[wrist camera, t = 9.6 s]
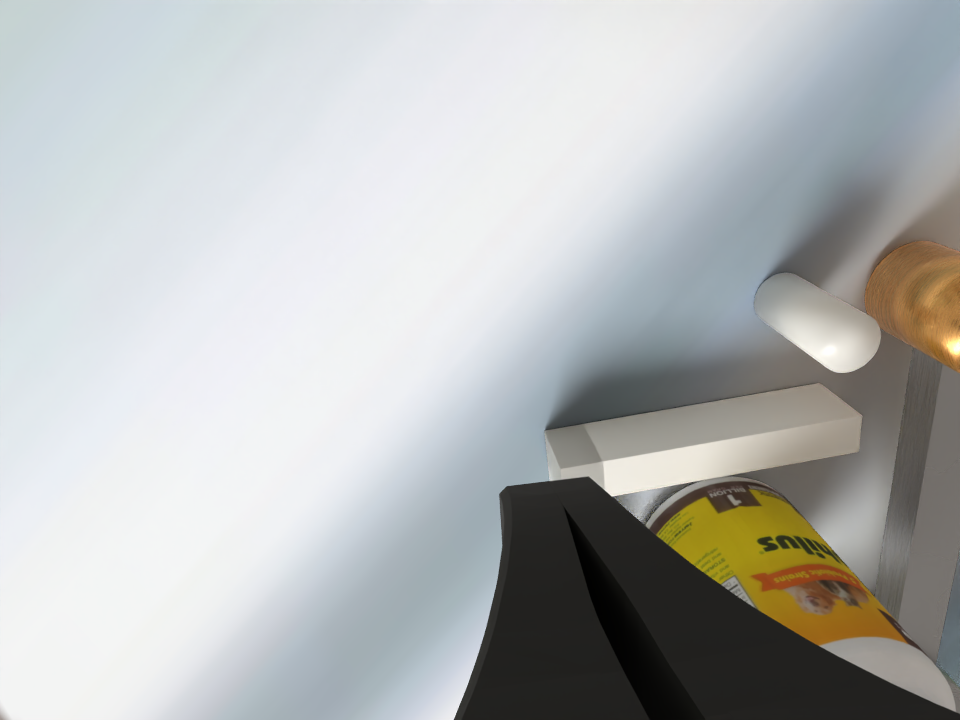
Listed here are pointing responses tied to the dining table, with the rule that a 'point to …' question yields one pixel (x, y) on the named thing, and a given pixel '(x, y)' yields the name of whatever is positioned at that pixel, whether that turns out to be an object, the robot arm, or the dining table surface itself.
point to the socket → (705, 440)
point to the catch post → (818, 322)
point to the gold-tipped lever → (922, 440)
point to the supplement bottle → (792, 577)
